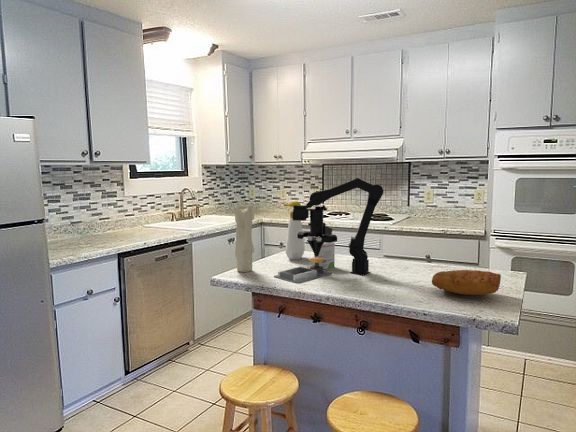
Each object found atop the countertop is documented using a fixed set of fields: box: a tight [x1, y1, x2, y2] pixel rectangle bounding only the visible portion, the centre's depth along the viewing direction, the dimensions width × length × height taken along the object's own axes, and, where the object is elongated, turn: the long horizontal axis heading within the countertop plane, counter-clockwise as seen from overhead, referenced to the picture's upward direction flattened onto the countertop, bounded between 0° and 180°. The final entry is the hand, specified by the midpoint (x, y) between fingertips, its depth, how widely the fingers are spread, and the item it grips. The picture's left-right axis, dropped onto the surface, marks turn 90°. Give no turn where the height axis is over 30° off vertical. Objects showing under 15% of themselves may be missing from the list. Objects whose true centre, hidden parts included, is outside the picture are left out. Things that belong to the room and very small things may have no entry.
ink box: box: [313, 242, 336, 270], centre depth 191 cm, size 8×5×12 cm, turn 123°
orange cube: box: [309, 257, 324, 267], centre depth 184 cm, size 4×4×4 cm
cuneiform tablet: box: [431, 269, 502, 296], centre depth 149 cm, size 22×17×8 cm
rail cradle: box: [273, 265, 333, 284], centre depth 178 cm, size 14×21×3 cm, turn 134°
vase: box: [234, 203, 255, 273], centre depth 186 cm, size 9×8×30 cm
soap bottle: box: [283, 201, 306, 261], centre depth 210 cm, size 13×10×29 cm
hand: (316, 256), depth 183 cm, fingers closed
